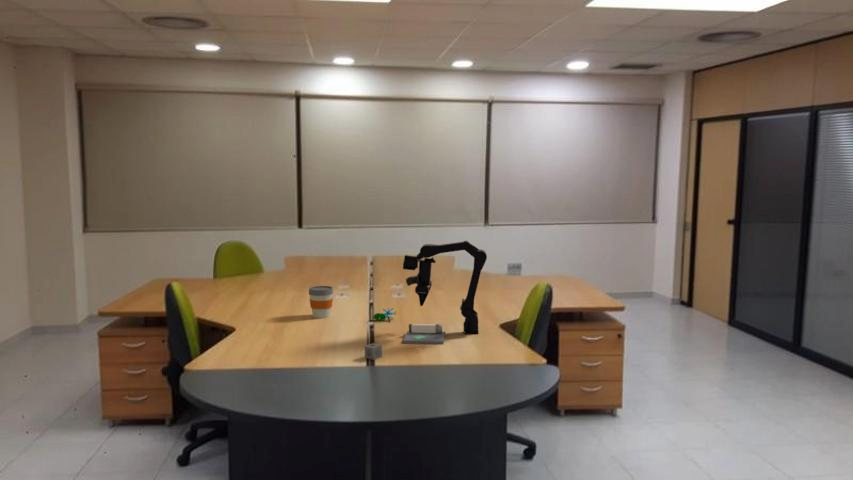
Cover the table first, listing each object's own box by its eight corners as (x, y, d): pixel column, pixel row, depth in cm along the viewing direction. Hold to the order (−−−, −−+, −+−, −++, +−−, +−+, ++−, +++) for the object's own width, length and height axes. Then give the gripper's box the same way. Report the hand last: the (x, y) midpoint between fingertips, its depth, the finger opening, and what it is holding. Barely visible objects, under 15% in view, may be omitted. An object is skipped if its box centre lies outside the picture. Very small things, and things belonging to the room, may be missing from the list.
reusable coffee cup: (328, 319, 325) (328, 290, 323) (305, 318, 328) (304, 290, 326) (337, 313, 337) (336, 286, 336) (314, 312, 340) (314, 285, 338)
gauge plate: (445, 334, 296) (445, 331, 296) (443, 343, 280) (443, 340, 280) (407, 333, 297) (407, 330, 297) (403, 343, 282) (403, 340, 281)
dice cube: (373, 354, 265) (373, 343, 265) (382, 357, 262) (381, 345, 261) (364, 357, 261) (364, 346, 261) (373, 360, 258) (373, 348, 258)
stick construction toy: (397, 314, 326) (393, 304, 321) (399, 324, 321) (395, 314, 316) (375, 320, 327) (370, 311, 322) (376, 331, 322) (372, 321, 316)
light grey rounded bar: (442, 331, 294) (442, 324, 294) (442, 333, 291) (441, 325, 291) (409, 331, 296) (409, 323, 295) (408, 333, 293) (408, 325, 292)
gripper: (410, 266, 307) (407, 298, 309) (405, 273, 288) (402, 306, 290) (432, 268, 306) (430, 300, 308) (429, 275, 287) (427, 308, 289)
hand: (422, 303), depth 299 cm, fingers open, 9 cm apart
